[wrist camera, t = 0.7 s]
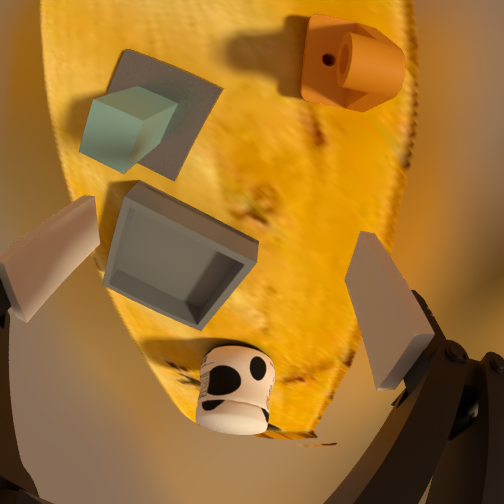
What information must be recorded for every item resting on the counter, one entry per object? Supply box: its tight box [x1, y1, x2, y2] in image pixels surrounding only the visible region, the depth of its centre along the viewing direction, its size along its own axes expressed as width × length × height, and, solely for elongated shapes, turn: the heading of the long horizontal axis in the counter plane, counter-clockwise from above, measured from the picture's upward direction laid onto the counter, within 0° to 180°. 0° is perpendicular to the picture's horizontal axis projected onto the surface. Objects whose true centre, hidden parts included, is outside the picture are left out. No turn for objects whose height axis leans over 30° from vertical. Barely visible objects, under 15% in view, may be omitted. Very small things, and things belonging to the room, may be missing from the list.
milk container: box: [196, 345, 275, 435], centre depth 57 cm, size 17×17×18 cm
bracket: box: [300, 14, 406, 112], centre depth 21 cm, size 11×7×12 cm, turn 176°
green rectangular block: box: [79, 86, 178, 174], centre depth 26 cm, size 6×6×10 cm
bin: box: [103, 180, 259, 331], centre depth 43 cm, size 20×20×5 cm
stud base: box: [107, 49, 224, 181], centre depth 29 cm, size 14×14×6 cm
